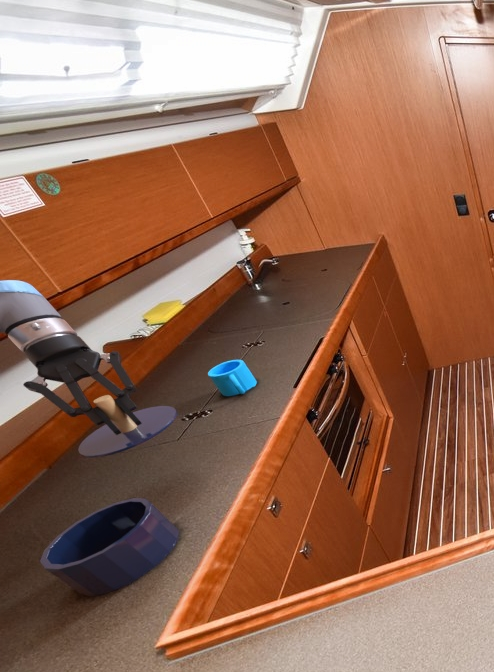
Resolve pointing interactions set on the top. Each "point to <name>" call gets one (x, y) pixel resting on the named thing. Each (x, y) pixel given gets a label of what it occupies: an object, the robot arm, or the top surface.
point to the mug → (232, 377)
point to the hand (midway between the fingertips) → (127, 427)
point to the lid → (125, 428)
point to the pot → (111, 547)
